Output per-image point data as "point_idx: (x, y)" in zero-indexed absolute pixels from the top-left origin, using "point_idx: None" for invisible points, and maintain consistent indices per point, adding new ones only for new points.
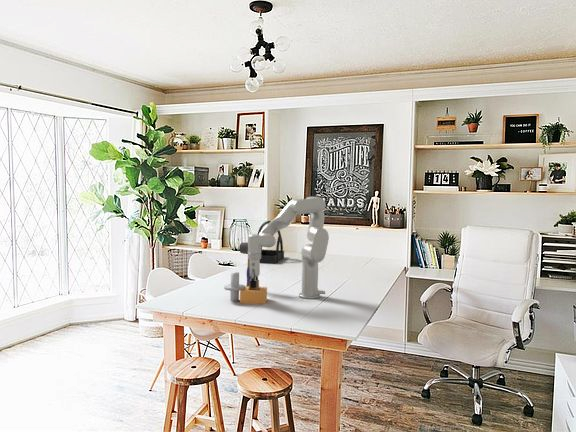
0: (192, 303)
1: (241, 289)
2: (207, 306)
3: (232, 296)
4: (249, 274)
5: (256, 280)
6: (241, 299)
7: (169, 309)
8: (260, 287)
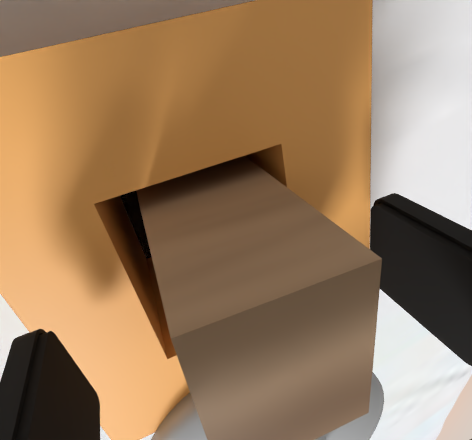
0: None
1: None
2: (392, 359)
3: None
4: None
5: (281, 345)
6: None
7: (439, 423)
8: (39, 219)
